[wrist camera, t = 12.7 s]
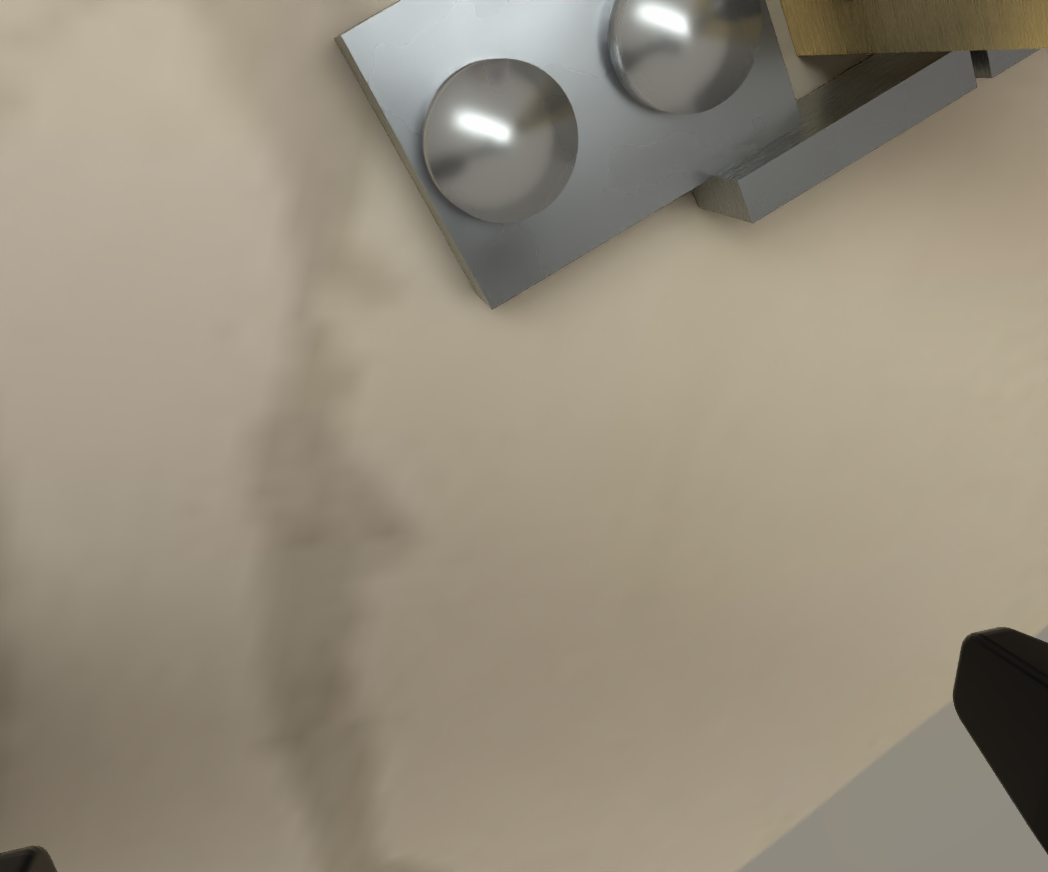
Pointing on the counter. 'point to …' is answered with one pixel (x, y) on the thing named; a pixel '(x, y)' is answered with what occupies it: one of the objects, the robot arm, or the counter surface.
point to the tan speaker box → (915, 25)
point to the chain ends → (618, 117)
